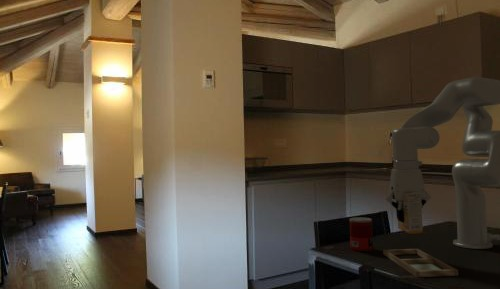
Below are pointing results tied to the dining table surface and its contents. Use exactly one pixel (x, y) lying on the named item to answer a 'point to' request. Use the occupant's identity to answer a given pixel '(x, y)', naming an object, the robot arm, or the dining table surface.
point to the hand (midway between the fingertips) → (409, 220)
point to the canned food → (361, 234)
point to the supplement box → (412, 213)
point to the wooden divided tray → (421, 263)
